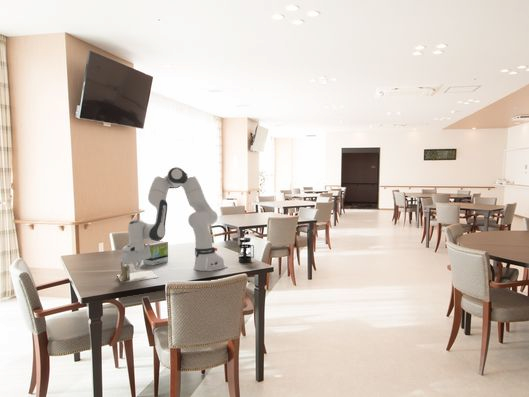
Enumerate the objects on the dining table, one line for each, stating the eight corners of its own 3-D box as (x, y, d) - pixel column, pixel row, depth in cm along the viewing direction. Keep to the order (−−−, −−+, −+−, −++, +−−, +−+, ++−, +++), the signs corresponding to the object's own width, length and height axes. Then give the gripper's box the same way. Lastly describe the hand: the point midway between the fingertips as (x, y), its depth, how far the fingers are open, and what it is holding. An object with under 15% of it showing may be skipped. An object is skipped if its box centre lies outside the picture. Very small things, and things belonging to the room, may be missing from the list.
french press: (237, 263, 260) (237, 231, 259) (237, 260, 269) (236, 229, 268) (254, 263, 262) (254, 230, 260) (253, 260, 271) (252, 228, 269)
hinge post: (126, 274, 234) (125, 260, 234) (127, 275, 231) (126, 261, 230) (119, 275, 233) (118, 261, 232) (120, 276, 229) (119, 262, 228)
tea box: (153, 265, 256) (152, 244, 256) (142, 264, 261) (142, 243, 260) (168, 261, 270) (168, 241, 269) (158, 260, 274) (158, 240, 274)
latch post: (127, 280, 221) (126, 265, 220) (128, 282, 217) (128, 267, 217) (120, 281, 219) (119, 266, 218) (121, 283, 215) (120, 268, 215)
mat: (150, 270, 243) (150, 270, 243) (157, 277, 226) (157, 277, 226) (116, 275, 232) (116, 274, 232) (121, 283, 216) (121, 282, 216)
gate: (122, 275, 229) (122, 262, 229) (125, 275, 230) (124, 262, 229) (127, 281, 217) (126, 267, 216) (129, 280, 218) (129, 266, 217)
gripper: (145, 243, 237) (146, 264, 238) (119, 249, 219) (120, 271, 220) (152, 243, 234) (153, 265, 235) (126, 249, 216) (127, 273, 217)
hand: (137, 268), depth 227 cm, fingers closed
